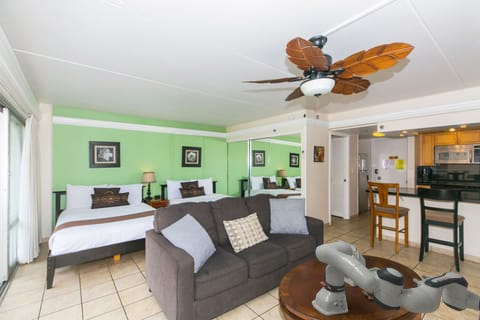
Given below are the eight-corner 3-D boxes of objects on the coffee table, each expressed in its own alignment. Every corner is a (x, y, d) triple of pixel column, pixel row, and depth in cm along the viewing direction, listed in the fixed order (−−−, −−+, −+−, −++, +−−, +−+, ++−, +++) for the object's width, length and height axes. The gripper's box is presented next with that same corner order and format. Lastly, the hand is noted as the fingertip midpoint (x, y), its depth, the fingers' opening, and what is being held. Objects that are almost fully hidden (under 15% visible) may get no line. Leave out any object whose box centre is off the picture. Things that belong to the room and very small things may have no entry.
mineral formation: (369, 289, 157) (394, 297, 146) (361, 300, 149) (387, 309, 137) (367, 278, 157) (392, 286, 145) (359, 288, 149) (385, 297, 137)
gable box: (366, 283, 166) (365, 246, 166) (353, 287, 161) (352, 248, 162) (342, 270, 186) (342, 237, 187) (330, 273, 182) (330, 239, 182)
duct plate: (380, 282, 166) (380, 277, 166) (364, 274, 179) (363, 269, 179) (392, 278, 172) (392, 273, 172) (375, 270, 185) (375, 266, 185)
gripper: (434, 298, 127) (408, 286, 139) (454, 290, 134) (427, 279, 147) (434, 287, 127) (408, 276, 140) (453, 279, 134) (427, 269, 147)
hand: (418, 277), depth 143 cm, fingers open, 8 cm apart
